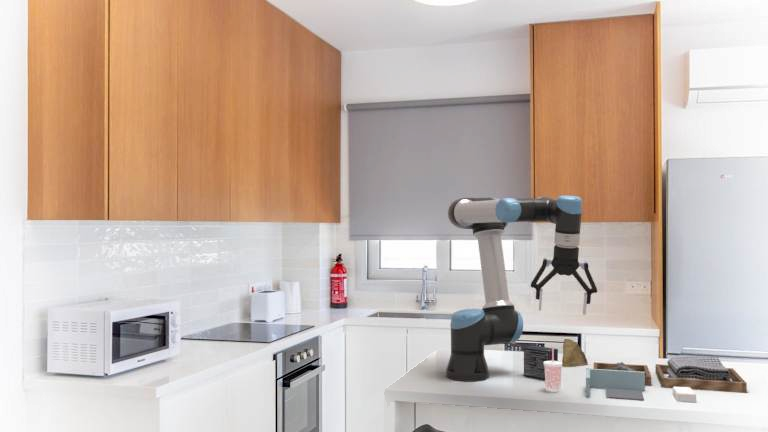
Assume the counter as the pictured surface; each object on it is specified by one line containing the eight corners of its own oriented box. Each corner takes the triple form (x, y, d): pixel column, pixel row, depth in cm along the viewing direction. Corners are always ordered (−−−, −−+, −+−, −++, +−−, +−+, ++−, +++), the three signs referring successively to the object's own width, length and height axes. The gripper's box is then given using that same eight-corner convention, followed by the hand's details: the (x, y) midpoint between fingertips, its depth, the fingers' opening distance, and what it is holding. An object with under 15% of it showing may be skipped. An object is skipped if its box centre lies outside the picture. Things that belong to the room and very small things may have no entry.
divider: (586, 396, 217) (586, 377, 217) (586, 386, 230) (586, 368, 230) (647, 401, 211) (647, 381, 211) (644, 390, 225) (644, 371, 225)
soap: (696, 403, 210) (696, 393, 210) (677, 402, 211) (677, 392, 211) (690, 396, 219) (690, 386, 219) (672, 395, 220) (672, 385, 220)
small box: (559, 378, 242) (559, 348, 242) (549, 381, 237) (549, 351, 237) (532, 373, 249) (532, 344, 249) (522, 376, 244) (522, 347, 244)
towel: (665, 376, 245) (665, 354, 245) (720, 378, 242) (720, 356, 242) (675, 386, 231) (675, 363, 231) (734, 389, 227) (734, 365, 227)
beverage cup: (541, 387, 229) (541, 345, 229) (560, 387, 228) (560, 345, 228) (545, 392, 222) (545, 348, 222) (564, 392, 222) (564, 349, 222)
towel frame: (661, 387, 229) (661, 378, 229) (655, 372, 250) (655, 364, 250) (746, 392, 221) (746, 383, 221) (732, 377, 243) (732, 368, 243)
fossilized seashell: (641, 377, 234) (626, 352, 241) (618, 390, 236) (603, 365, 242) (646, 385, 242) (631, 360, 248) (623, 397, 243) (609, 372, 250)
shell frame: (593, 382, 236) (593, 373, 236) (593, 370, 254) (593, 362, 254) (651, 385, 231) (651, 376, 231) (647, 373, 248) (647, 365, 248)
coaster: (606, 397, 215) (606, 396, 215) (605, 389, 226) (605, 388, 226) (644, 400, 212) (644, 399, 212) (641, 391, 223) (641, 390, 223)
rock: (587, 356, 268) (561, 351, 270) (591, 341, 263) (564, 336, 265) (586, 377, 260) (559, 373, 262) (590, 363, 255) (562, 358, 257)
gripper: (525, 244, 214) (521, 310, 218) (609, 251, 209) (603, 318, 212) (526, 240, 222) (522, 304, 225) (607, 246, 216) (602, 311, 219)
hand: (561, 311), depth 218 cm, fingers open, 13 cm apart
